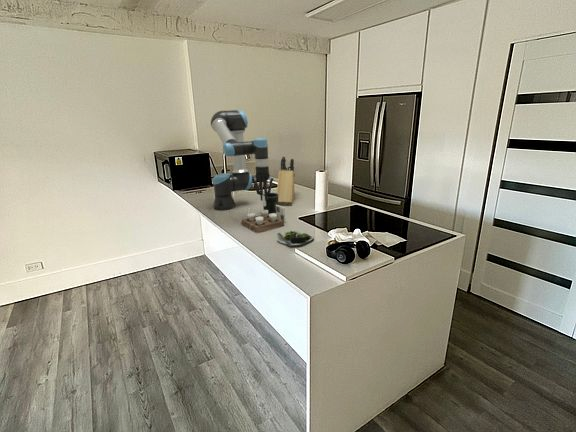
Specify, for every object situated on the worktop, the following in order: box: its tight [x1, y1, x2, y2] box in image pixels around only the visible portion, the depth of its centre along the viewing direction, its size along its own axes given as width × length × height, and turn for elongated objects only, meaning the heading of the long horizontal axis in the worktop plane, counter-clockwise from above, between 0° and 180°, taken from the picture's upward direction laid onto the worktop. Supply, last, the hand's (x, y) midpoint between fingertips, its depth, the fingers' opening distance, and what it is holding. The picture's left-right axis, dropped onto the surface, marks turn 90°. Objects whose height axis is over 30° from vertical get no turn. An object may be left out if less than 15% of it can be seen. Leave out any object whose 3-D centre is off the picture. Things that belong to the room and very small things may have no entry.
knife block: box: [276, 156, 296, 206], centre depth 231 cm, size 11×35×31 cm, turn 174°
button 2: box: [256, 215, 264, 226], centre depth 176 cm, size 4×4×5 cm
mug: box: [262, 192, 280, 214], centre depth 206 cm, size 11×15×12 cm
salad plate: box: [276, 230, 314, 248], centre depth 160 cm, size 19×18×5 cm
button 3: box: [260, 209, 268, 219], centre depth 188 cm, size 4×4×5 cm
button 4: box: [269, 213, 277, 222], centre depth 181 cm, size 4×4×5 cm
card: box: [276, 204, 287, 223], centre depth 190 cm, size 9×4×9 cm, turn 36°
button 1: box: [247, 212, 256, 222], centre depth 183 cm, size 4×4×5 cm
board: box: [241, 214, 285, 234], centre depth 183 cm, size 18×18×3 cm
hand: (264, 205), depth 186 cm, fingers closed
